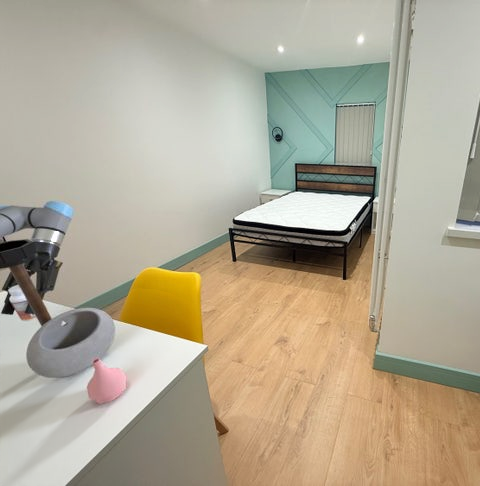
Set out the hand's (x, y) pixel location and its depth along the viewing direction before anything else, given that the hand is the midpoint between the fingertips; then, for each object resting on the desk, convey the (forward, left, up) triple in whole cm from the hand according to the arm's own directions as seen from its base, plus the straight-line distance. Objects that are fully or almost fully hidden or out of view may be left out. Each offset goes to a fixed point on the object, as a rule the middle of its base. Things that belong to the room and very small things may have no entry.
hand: (18, 313), depth 81 cm
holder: (+15, -11, +23) cm, 30 cm away
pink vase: (+34, -28, -11) cm, 46 cm away
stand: (+15, -11, -11) cm, 22 cm away
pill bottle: (+1, +4, -4) cm, 5 cm away
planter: (+23, -16, -11) cm, 30 cm away
